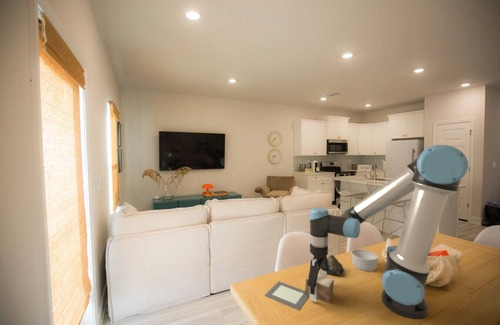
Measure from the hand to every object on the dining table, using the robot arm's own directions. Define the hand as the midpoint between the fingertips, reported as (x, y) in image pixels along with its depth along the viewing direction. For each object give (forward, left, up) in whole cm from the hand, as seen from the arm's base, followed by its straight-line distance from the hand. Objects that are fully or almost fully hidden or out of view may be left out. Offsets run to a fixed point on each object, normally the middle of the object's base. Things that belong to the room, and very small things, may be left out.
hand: (318, 292), depth 96 cm
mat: (+11, +8, -1) cm, 13 cm away
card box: (0, 0, -1) cm, 1 cm away
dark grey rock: (0, -23, -2) cm, 23 cm away
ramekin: (-12, -39, -2) cm, 41 cm away
